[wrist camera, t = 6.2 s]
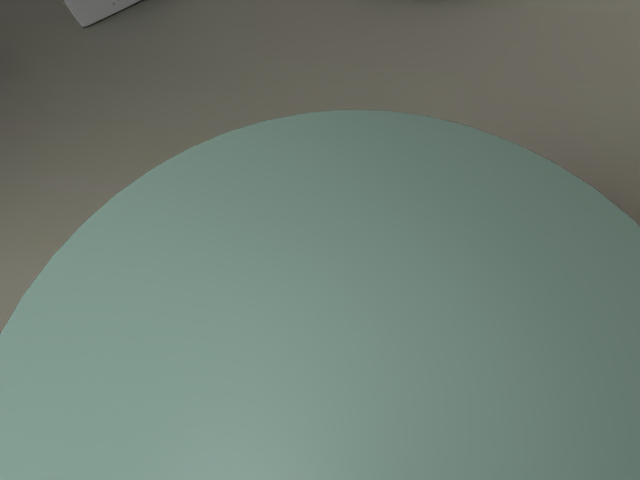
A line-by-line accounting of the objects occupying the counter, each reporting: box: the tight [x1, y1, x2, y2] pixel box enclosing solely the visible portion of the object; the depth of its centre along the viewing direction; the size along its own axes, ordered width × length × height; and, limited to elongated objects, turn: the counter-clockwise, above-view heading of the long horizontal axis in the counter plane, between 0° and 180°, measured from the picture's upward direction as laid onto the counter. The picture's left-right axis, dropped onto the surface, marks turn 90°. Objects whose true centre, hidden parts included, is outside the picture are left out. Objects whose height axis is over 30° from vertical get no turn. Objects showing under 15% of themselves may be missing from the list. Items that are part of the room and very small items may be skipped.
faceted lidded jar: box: [0, 110, 640, 480], centre depth 12 cm, size 10×10×12 cm
